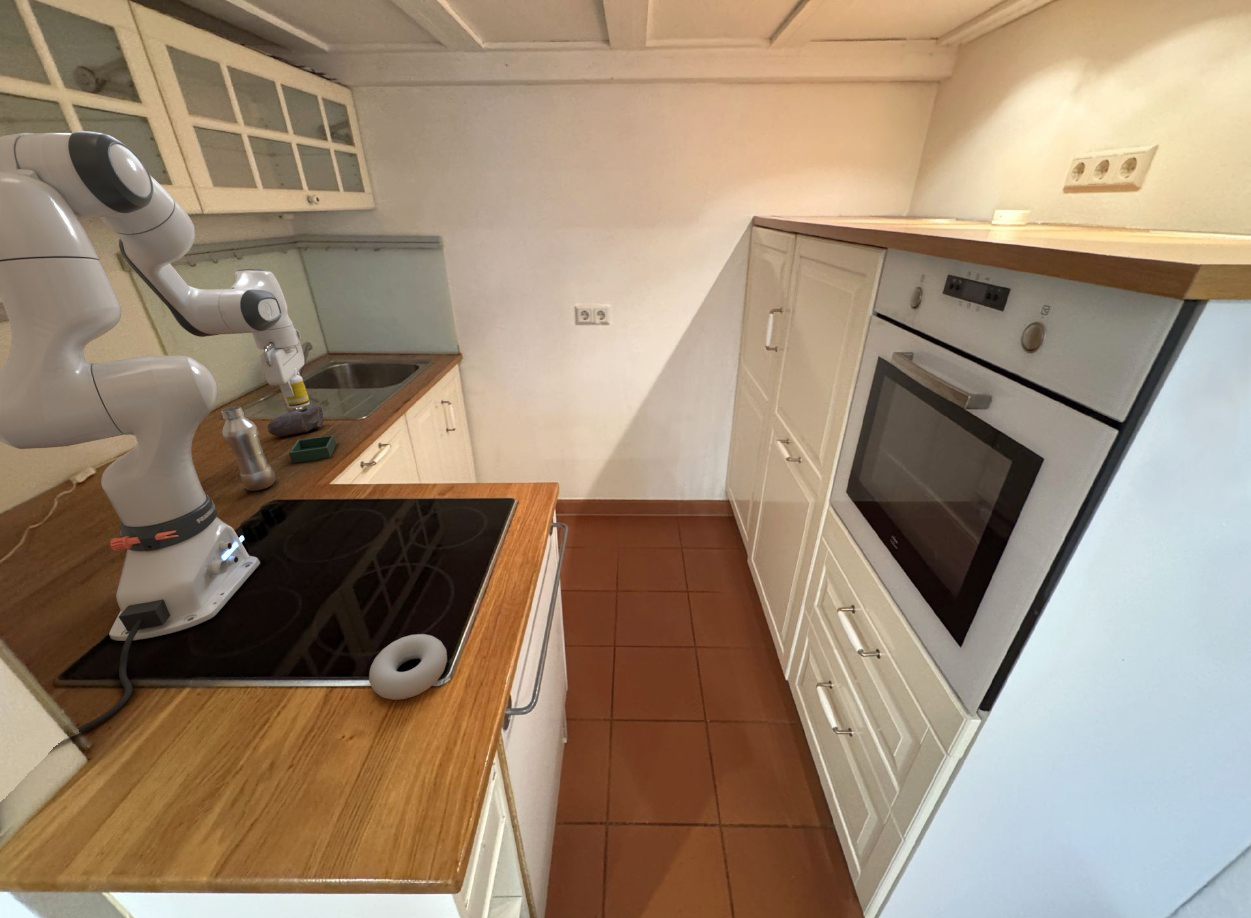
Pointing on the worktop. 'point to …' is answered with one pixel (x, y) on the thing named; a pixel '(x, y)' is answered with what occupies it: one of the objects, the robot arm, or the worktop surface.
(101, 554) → the worktop surface
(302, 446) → the tray
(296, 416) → the perforated stone tool
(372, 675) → the donut
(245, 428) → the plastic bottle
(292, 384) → the supplement bottle
